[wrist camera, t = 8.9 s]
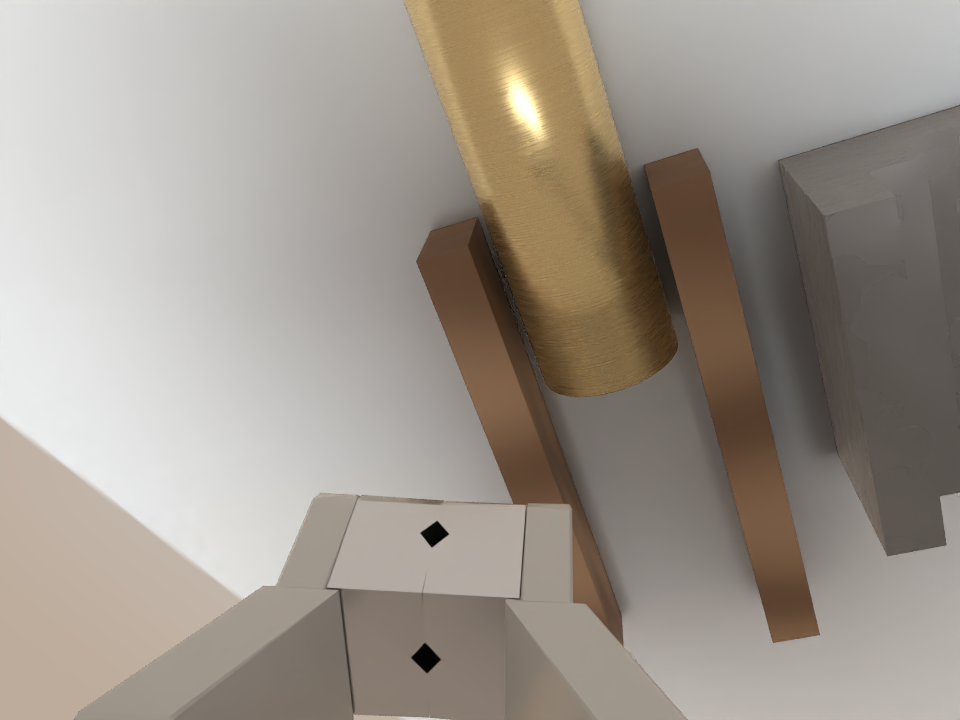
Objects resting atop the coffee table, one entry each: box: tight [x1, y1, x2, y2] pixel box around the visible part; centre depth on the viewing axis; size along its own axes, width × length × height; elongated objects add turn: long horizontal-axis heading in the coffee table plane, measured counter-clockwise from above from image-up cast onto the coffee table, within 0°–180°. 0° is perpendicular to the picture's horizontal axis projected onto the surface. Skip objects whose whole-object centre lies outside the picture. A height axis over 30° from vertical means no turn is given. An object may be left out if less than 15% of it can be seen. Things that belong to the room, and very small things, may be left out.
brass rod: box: [403, 0, 678, 397], centre depth 22 cm, size 14×4×4 cm, turn 20°
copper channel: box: [416, 148, 820, 646], centre depth 27 cm, size 16×8×2 cm, turn 19°
